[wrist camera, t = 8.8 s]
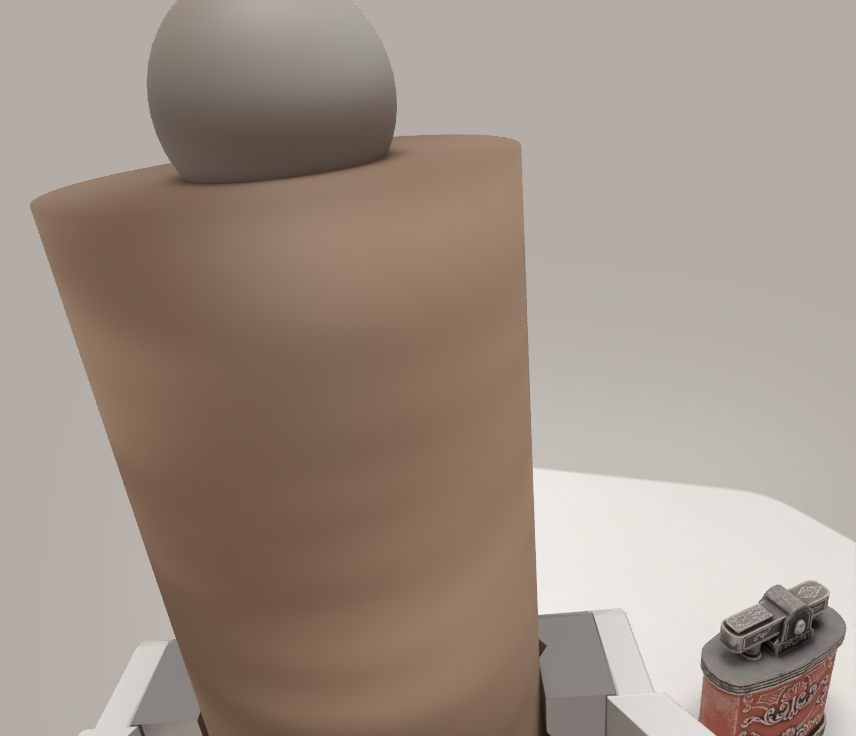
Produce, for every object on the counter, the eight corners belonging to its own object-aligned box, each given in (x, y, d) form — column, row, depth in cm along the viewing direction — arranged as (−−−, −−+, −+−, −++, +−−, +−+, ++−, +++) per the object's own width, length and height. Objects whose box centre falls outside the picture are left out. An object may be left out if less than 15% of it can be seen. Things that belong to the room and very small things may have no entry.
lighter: (786, 688, 38) (810, 550, 34) (840, 736, 35) (874, 591, 31) (675, 747, 36) (688, 605, 31) (724, 804, 33) (745, 656, 29)
